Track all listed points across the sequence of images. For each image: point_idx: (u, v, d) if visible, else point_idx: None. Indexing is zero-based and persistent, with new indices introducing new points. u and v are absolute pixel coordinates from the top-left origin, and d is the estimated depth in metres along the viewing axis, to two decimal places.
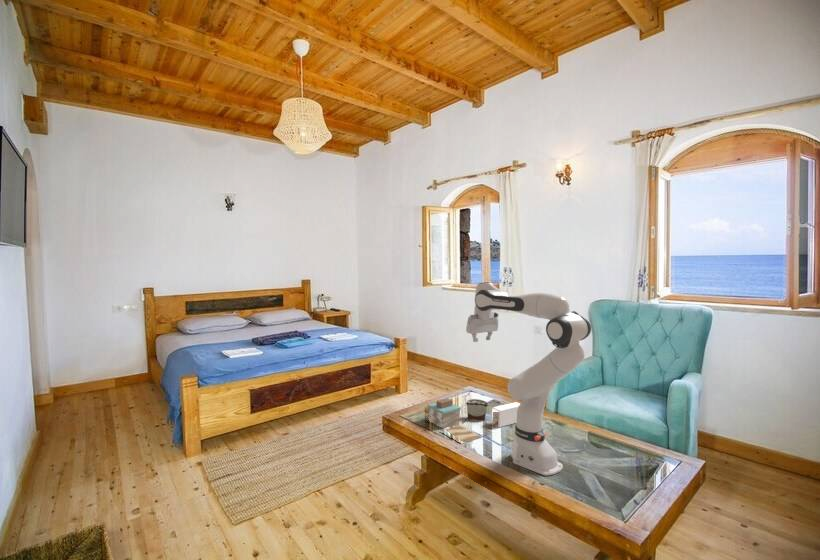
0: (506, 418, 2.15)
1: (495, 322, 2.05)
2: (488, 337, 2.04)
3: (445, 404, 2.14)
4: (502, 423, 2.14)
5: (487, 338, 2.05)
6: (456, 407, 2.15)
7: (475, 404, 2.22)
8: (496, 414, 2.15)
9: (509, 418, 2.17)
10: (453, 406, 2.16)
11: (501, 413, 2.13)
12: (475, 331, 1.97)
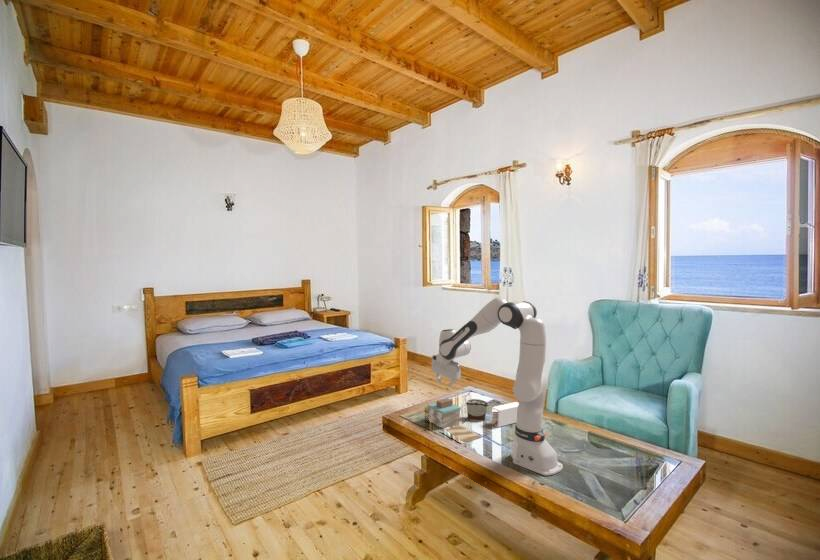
0: (505, 418, 2.16)
1: None
2: (441, 378, 2.19)
3: (445, 404, 2.14)
4: (501, 423, 2.14)
5: (440, 380, 2.19)
6: (456, 407, 2.15)
7: (475, 404, 2.22)
8: (495, 414, 2.15)
9: (508, 418, 2.17)
10: (453, 406, 2.16)
11: (500, 413, 2.13)
12: None
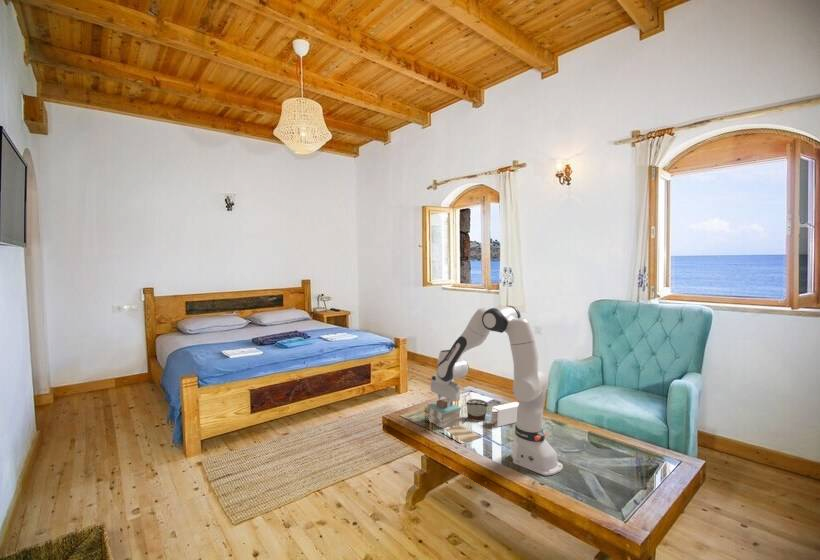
0: (505, 418, 2.16)
1: None
2: None
3: (445, 404, 2.14)
4: (501, 422, 2.15)
5: None
6: (456, 407, 2.15)
7: (475, 404, 2.22)
8: (495, 413, 2.16)
9: (508, 418, 2.17)
10: (453, 406, 2.16)
11: (500, 412, 2.14)
12: None
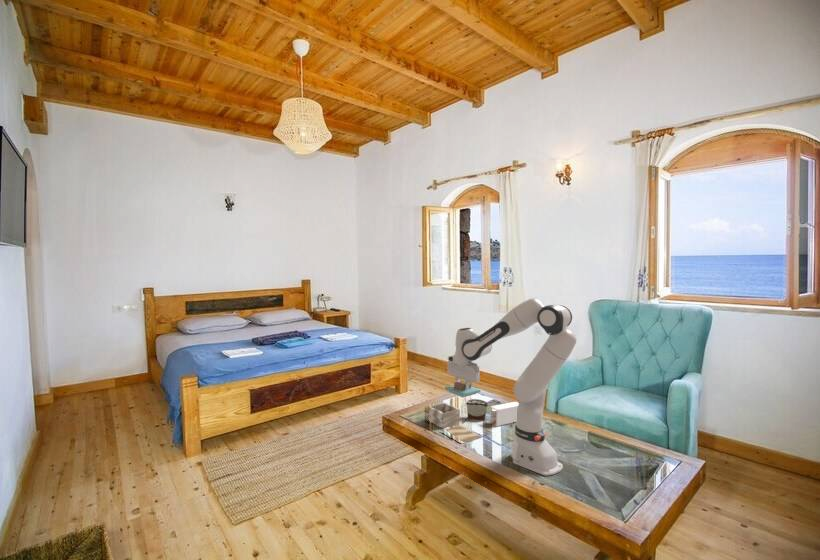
0: (504, 417, 2.16)
1: None
2: None
3: None
4: (500, 422, 2.15)
5: None
6: (475, 389, 2.00)
7: (475, 404, 2.22)
8: (494, 413, 2.16)
9: (507, 417, 2.18)
10: (472, 388, 2.01)
11: (499, 412, 2.14)
12: None
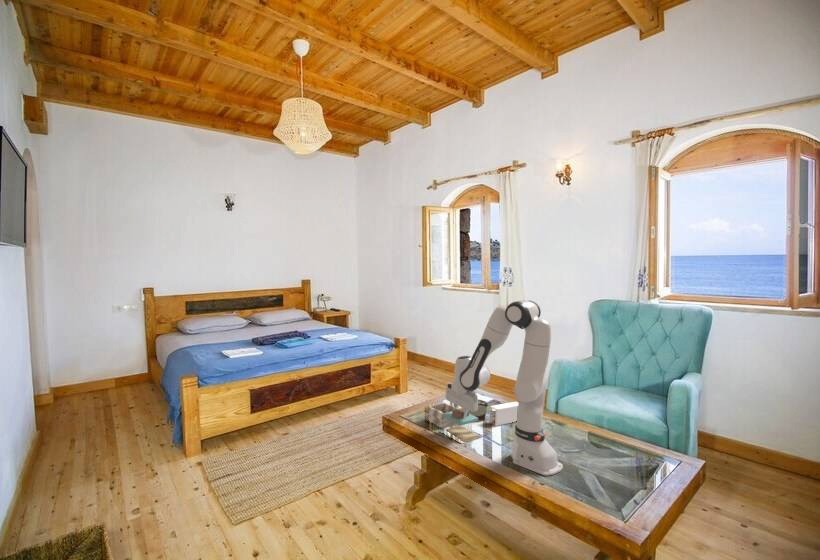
0: (503, 417, 2.17)
1: None
2: None
3: None
4: (499, 422, 2.15)
5: None
6: (473, 417, 2.01)
7: None
8: (493, 413, 2.17)
9: (507, 417, 2.18)
10: (470, 416, 2.02)
11: (498, 412, 2.15)
12: None
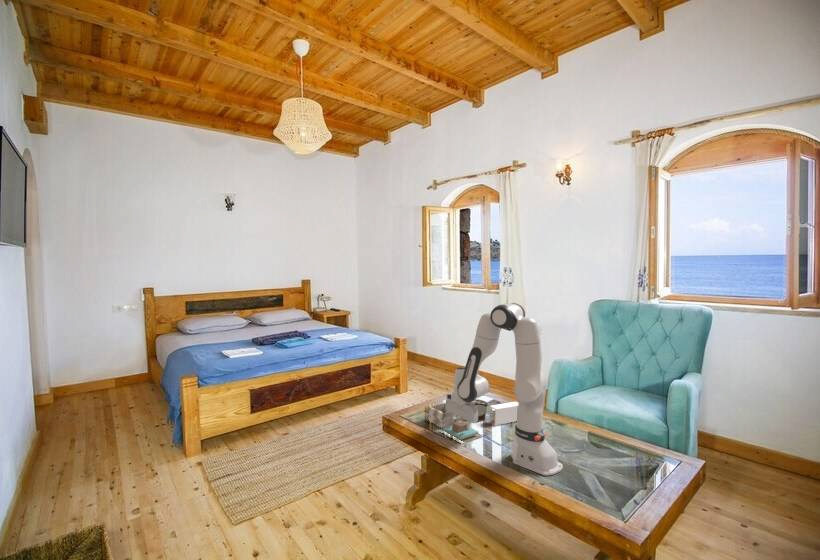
0: (503, 417, 2.17)
1: None
2: (456, 418, 2.06)
3: (462, 428, 2.00)
4: (498, 421, 2.16)
5: (455, 420, 2.05)
6: (473, 431, 2.01)
7: (475, 404, 2.22)
8: (493, 412, 2.17)
9: (506, 417, 2.18)
10: (470, 430, 2.02)
11: (497, 411, 2.15)
12: None
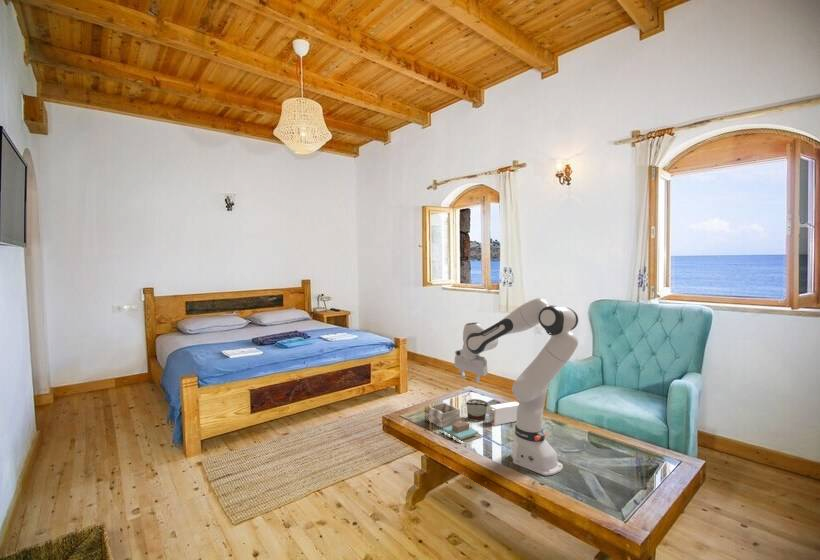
0: (502, 417, 2.17)
1: None
2: (465, 375, 2.09)
3: (462, 428, 2.00)
4: (498, 421, 2.16)
5: (464, 376, 2.09)
6: (473, 431, 2.01)
7: (475, 404, 2.22)
8: (492, 412, 2.17)
9: (506, 417, 2.18)
10: (470, 430, 2.02)
11: (497, 411, 2.15)
12: None
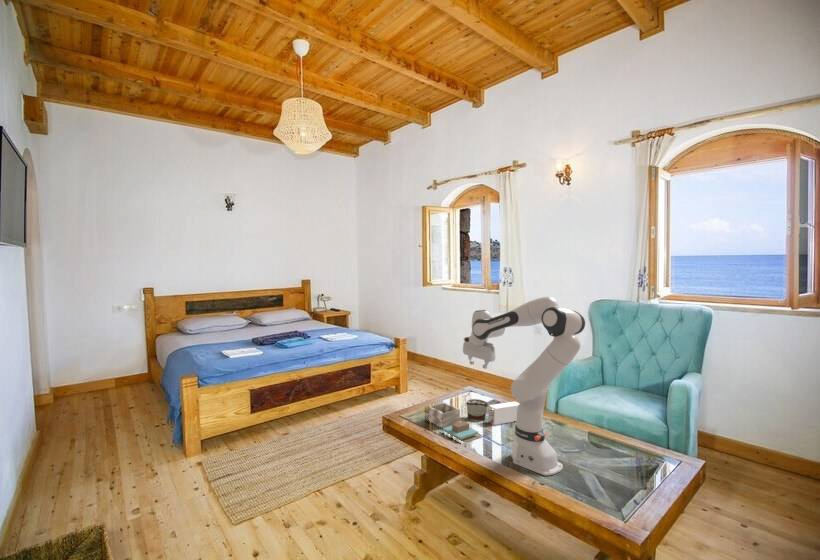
0: (502, 416, 2.17)
1: None
2: (473, 361, 2.14)
3: (462, 428, 2.00)
4: (497, 421, 2.16)
5: (472, 362, 2.13)
6: (473, 431, 2.01)
7: (475, 404, 2.22)
8: (492, 412, 2.18)
9: (505, 417, 2.19)
10: (470, 430, 2.02)
11: (496, 411, 2.16)
12: None
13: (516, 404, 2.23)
